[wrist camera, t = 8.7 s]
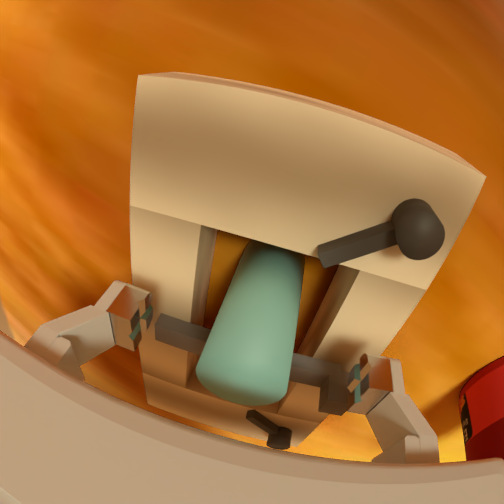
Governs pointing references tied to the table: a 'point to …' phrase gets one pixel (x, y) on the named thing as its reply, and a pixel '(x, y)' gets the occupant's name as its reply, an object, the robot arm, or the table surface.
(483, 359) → the table surface
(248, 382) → the pale green rounded block
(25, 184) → the table surface
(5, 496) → the robot arm
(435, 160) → the shelf
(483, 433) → the canned food
